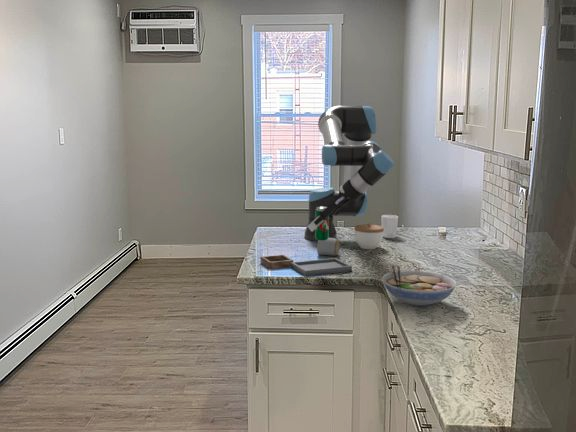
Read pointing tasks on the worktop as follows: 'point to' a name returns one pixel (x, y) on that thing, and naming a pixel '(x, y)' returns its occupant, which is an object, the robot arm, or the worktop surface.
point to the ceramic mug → (328, 247)
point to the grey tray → (320, 267)
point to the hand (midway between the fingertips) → (312, 227)
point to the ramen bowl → (418, 286)
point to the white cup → (389, 225)
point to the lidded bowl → (368, 235)
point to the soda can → (322, 226)
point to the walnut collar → (276, 261)
